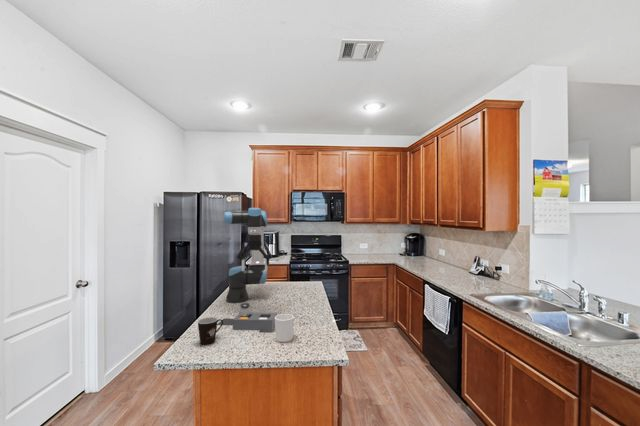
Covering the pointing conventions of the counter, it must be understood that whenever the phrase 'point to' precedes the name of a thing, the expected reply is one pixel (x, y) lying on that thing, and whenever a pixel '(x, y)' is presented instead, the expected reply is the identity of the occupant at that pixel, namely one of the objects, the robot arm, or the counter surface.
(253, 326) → the socket block
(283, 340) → the mug
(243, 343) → the counter surface
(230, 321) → the plate
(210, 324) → the coffee mug
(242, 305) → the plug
